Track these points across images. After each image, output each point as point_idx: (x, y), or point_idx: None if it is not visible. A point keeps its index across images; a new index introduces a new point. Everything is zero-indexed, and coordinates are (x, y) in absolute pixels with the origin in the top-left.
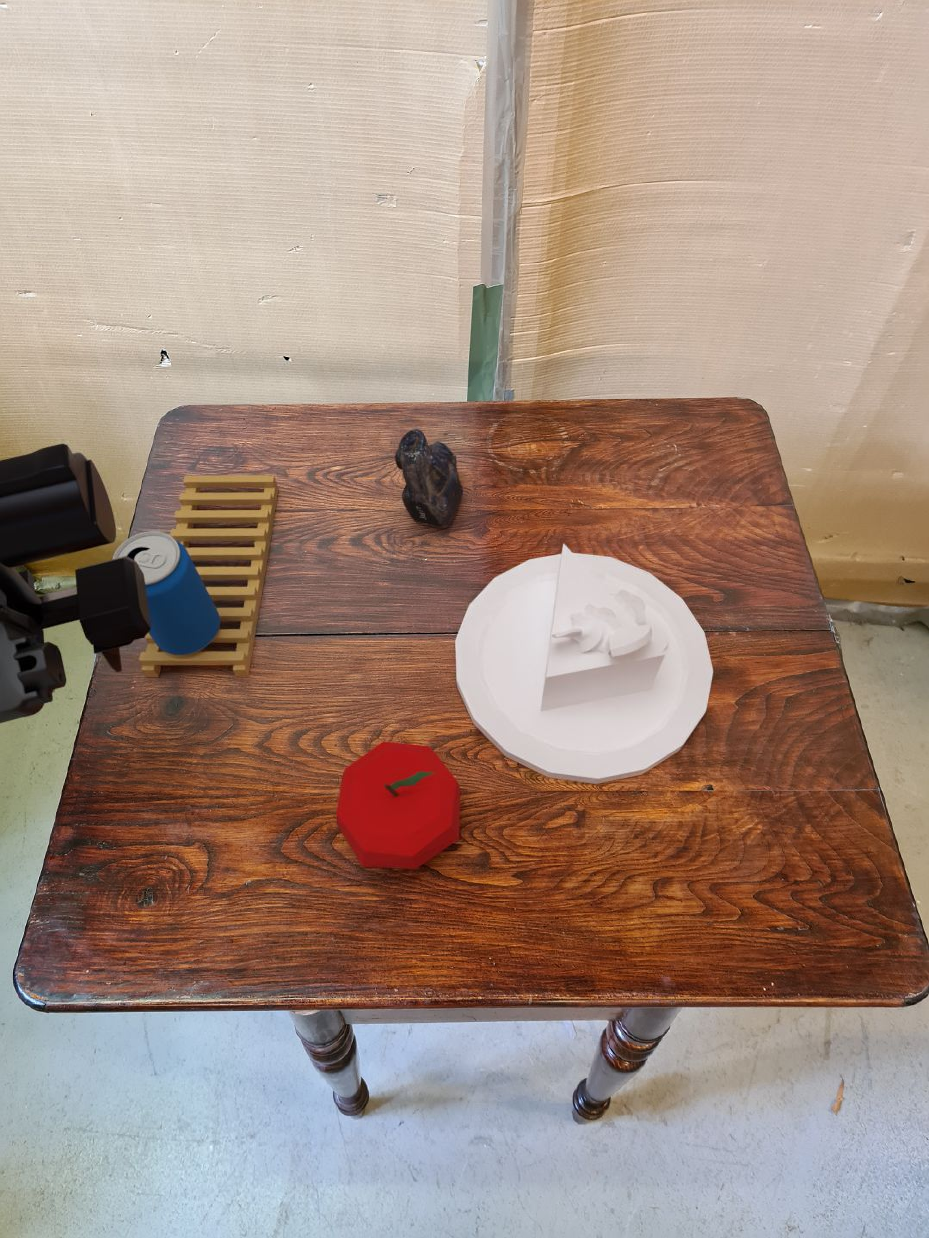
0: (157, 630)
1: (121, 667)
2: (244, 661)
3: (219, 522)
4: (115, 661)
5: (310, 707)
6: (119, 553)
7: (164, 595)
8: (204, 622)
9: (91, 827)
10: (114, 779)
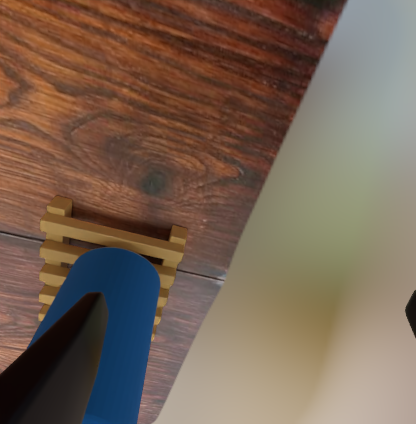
0: (116, 303)
1: (71, 308)
2: (42, 217)
3: None
4: (32, 358)
5: None
6: None
7: None
8: (59, 291)
9: (291, 22)
10: (244, 98)
